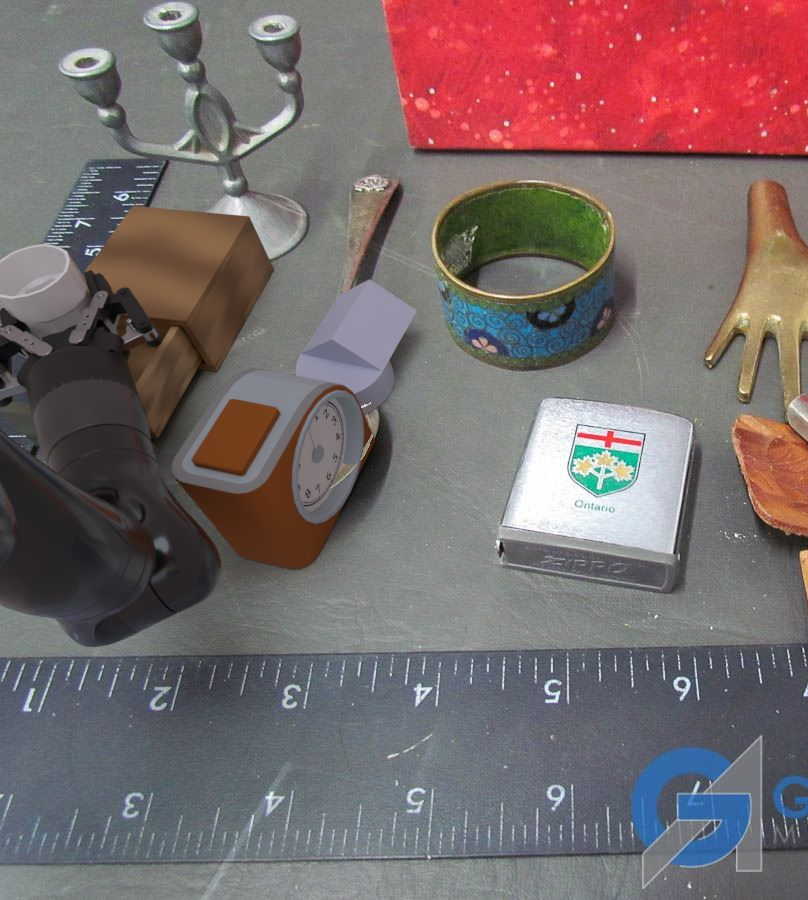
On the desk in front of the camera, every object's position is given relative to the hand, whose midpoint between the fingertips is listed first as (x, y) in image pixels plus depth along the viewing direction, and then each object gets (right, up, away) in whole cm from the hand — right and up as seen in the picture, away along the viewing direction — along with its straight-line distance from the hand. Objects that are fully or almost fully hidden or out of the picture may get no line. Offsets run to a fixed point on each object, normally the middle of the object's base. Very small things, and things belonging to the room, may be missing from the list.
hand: (54, 292), depth 74 cm
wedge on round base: (+24, -6, +12) cm, 27 cm away
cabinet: (+4, +1, +17) cm, 18 cm away
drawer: (+1, -9, +9) cm, 13 cm away
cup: (+1, -6, +4) cm, 7 cm away
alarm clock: (+22, -19, +3) cm, 29 cm away
